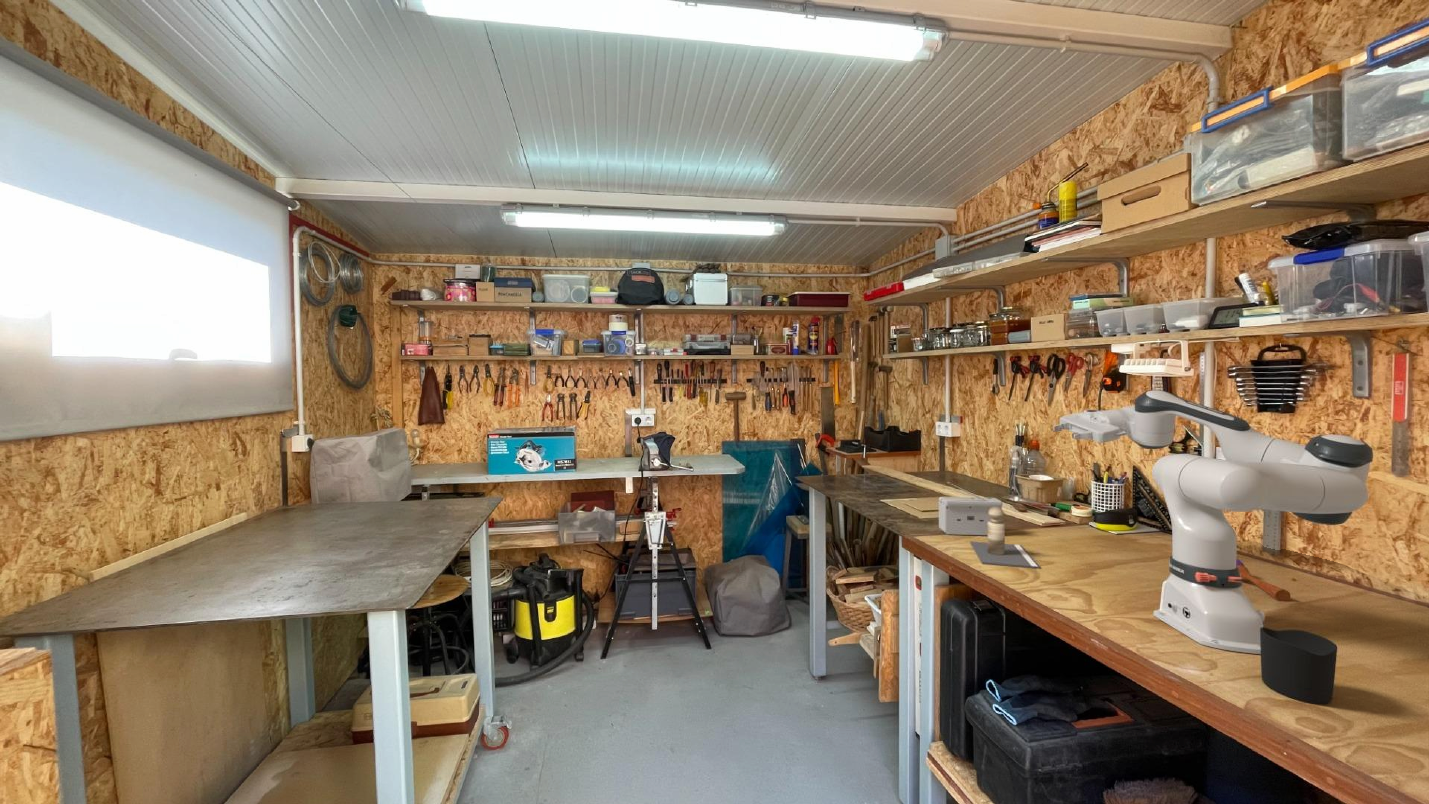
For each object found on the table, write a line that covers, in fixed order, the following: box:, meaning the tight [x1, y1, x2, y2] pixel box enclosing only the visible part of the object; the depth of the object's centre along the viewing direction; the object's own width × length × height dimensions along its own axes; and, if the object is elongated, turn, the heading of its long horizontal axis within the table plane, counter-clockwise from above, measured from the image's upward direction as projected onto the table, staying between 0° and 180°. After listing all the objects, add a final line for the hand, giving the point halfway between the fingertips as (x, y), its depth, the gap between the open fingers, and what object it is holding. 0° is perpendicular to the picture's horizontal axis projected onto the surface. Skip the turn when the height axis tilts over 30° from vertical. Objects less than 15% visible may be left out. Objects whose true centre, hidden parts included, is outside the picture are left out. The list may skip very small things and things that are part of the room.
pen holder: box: [1260, 626, 1338, 705], centre depth 96 cm, size 9×9×10 cm
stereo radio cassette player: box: [938, 481, 1003, 536], centre depth 196 cm, size 21×8×20 cm, turn 82°
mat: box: [970, 541, 1041, 569], centre depth 172 cm, size 22×16×1 cm
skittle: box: [987, 507, 1006, 555], centre depth 172 cm, size 5×5×15 cm
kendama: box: [1236, 558, 1291, 602], centre depth 144 cm, size 6×6×20 cm
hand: (1063, 432), depth 171 cm, fingers open, 8 cm apart
